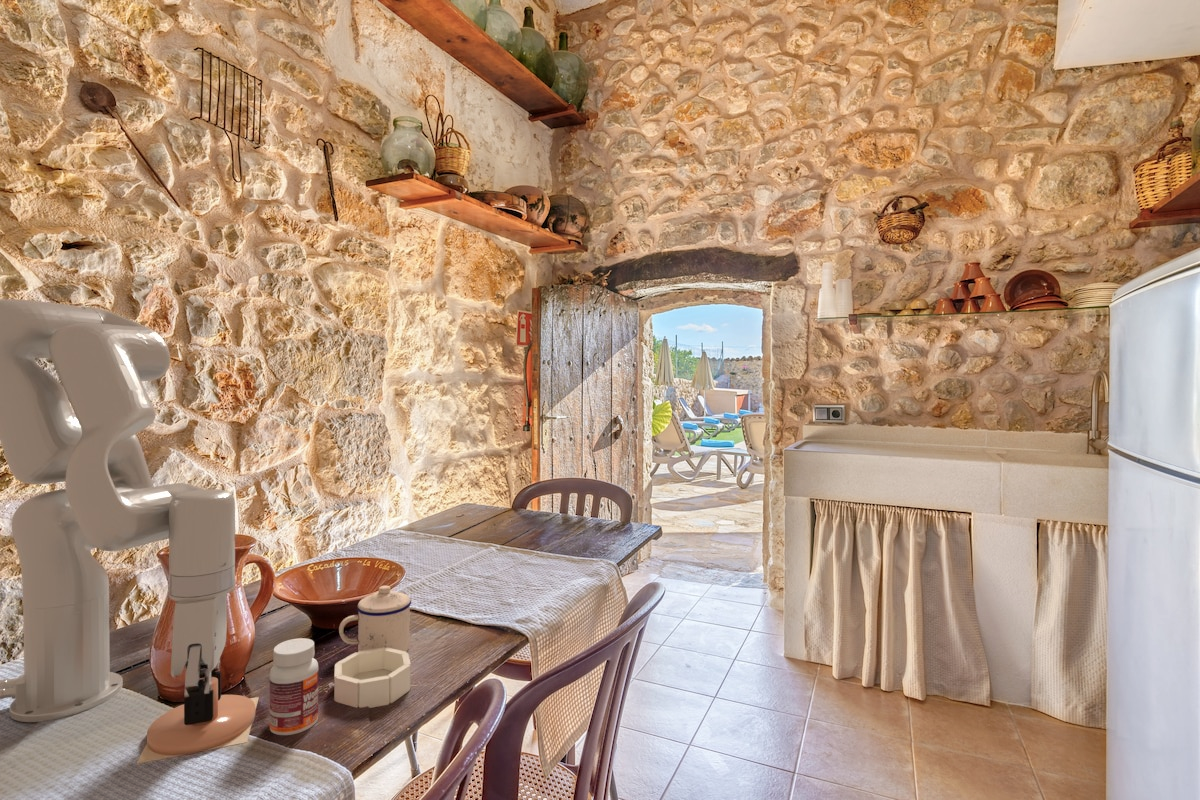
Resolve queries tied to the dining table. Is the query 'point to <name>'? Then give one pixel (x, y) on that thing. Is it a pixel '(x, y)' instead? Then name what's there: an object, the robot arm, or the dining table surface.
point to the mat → (242, 738)
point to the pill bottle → (293, 687)
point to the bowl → (372, 677)
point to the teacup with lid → (381, 621)
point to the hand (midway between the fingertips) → (203, 710)
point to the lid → (201, 726)
